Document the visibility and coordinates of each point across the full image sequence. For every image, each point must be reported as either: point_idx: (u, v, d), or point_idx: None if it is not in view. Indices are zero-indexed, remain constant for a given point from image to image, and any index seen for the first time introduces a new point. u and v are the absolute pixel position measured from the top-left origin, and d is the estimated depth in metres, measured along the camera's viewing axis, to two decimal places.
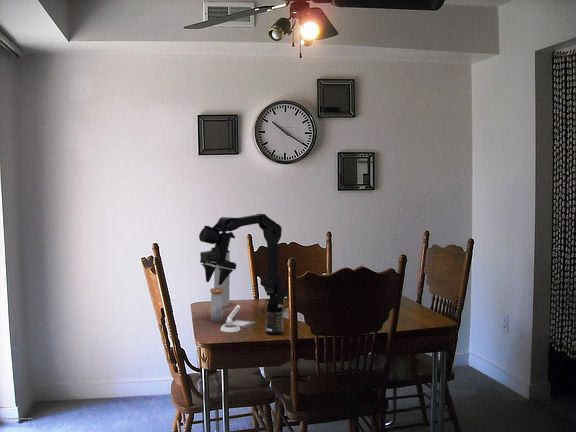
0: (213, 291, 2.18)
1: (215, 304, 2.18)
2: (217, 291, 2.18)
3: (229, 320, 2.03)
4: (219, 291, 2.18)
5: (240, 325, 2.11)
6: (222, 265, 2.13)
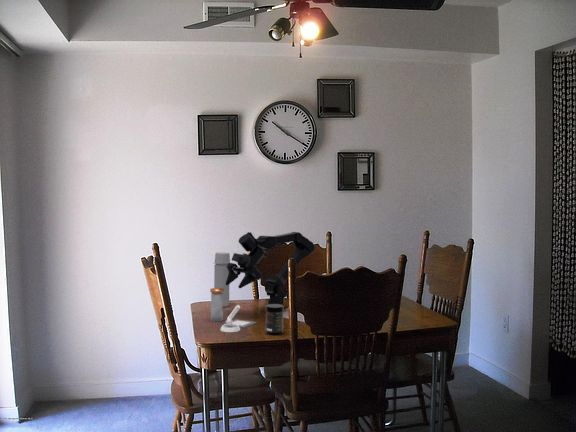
0: (213, 291, 2.18)
1: (215, 304, 2.18)
2: (217, 291, 2.18)
3: (229, 320, 2.03)
4: (219, 291, 2.18)
5: (240, 325, 2.11)
6: (250, 269, 2.22)
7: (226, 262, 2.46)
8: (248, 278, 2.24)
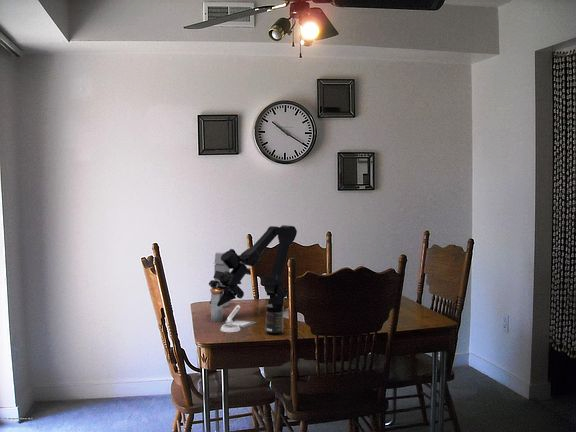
0: (213, 291, 2.18)
1: (215, 304, 2.18)
2: (217, 291, 2.18)
3: (229, 320, 2.03)
4: (219, 291, 2.18)
5: (240, 325, 2.11)
6: (232, 288, 2.16)
7: None
8: (227, 296, 2.20)
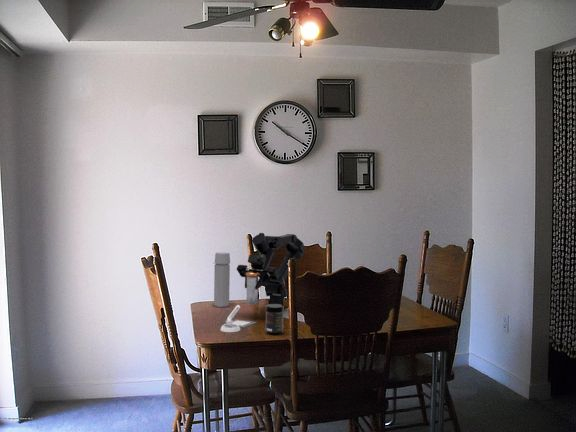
0: (251, 274, 2.20)
1: (252, 287, 2.21)
2: (255, 274, 2.21)
3: (229, 320, 2.03)
4: (257, 274, 2.21)
5: (240, 325, 2.11)
6: (271, 270, 2.21)
7: (226, 262, 2.46)
8: (263, 279, 2.24)
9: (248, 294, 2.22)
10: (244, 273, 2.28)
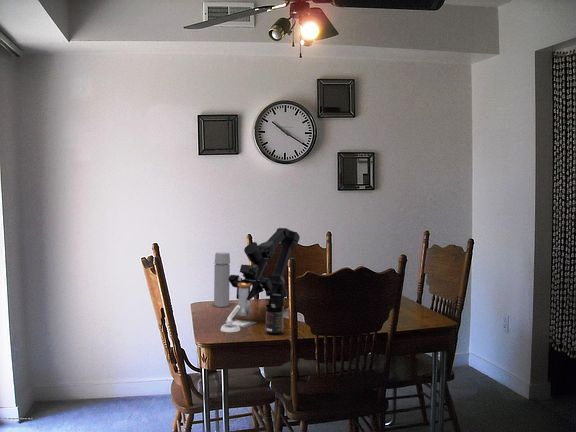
0: (243, 285, 2.14)
1: (244, 298, 2.15)
2: (247, 285, 2.15)
3: (229, 320, 2.03)
4: (249, 285, 2.15)
5: (240, 325, 2.11)
6: (263, 280, 2.15)
7: (226, 262, 2.46)
8: (255, 289, 2.18)
9: (240, 305, 2.16)
10: (236, 283, 2.22)
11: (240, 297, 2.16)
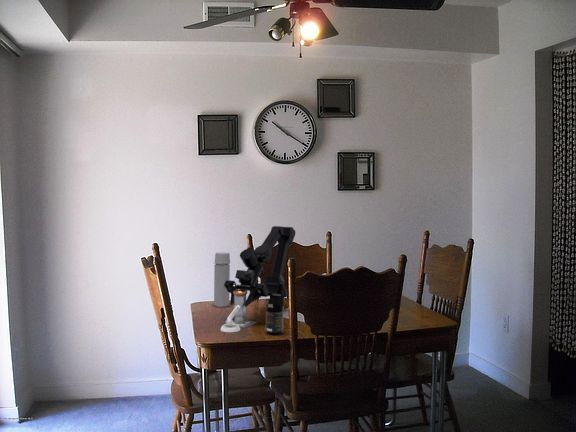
0: (239, 293, 2.12)
1: (240, 306, 2.12)
2: (243, 293, 2.12)
3: (229, 320, 2.03)
4: (245, 293, 2.13)
5: (240, 325, 2.11)
6: (259, 286, 2.13)
7: (226, 262, 2.46)
8: (253, 295, 2.15)
9: (236, 313, 2.13)
10: (230, 289, 2.19)
11: (236, 305, 2.13)
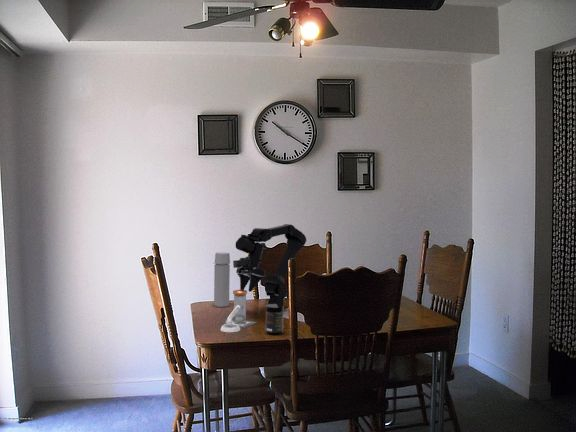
0: (239, 293, 2.12)
1: (240, 306, 2.12)
2: (243, 293, 2.12)
3: (229, 320, 2.03)
4: (244, 293, 2.13)
5: (240, 325, 2.11)
6: (251, 271, 2.21)
7: (226, 262, 2.46)
8: (254, 279, 2.24)
9: None
10: None
11: (236, 305, 2.13)
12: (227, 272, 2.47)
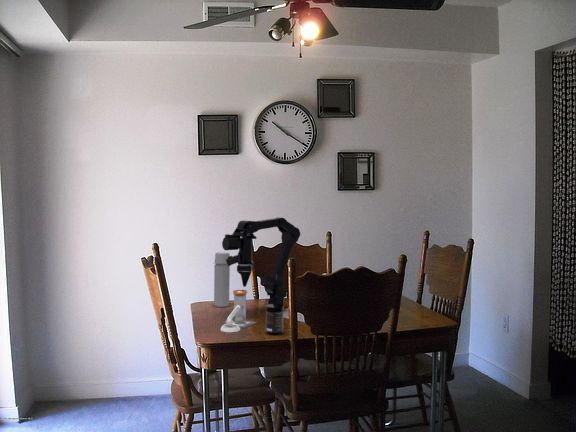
0: (239, 293, 2.12)
1: (240, 306, 2.12)
2: (243, 293, 2.12)
3: (229, 320, 2.03)
4: (244, 292, 2.13)
5: (240, 325, 2.11)
6: (237, 269, 2.24)
7: None
8: (245, 274, 2.26)
9: (236, 313, 2.13)
10: None
11: (236, 305, 2.13)
12: (227, 272, 2.47)
